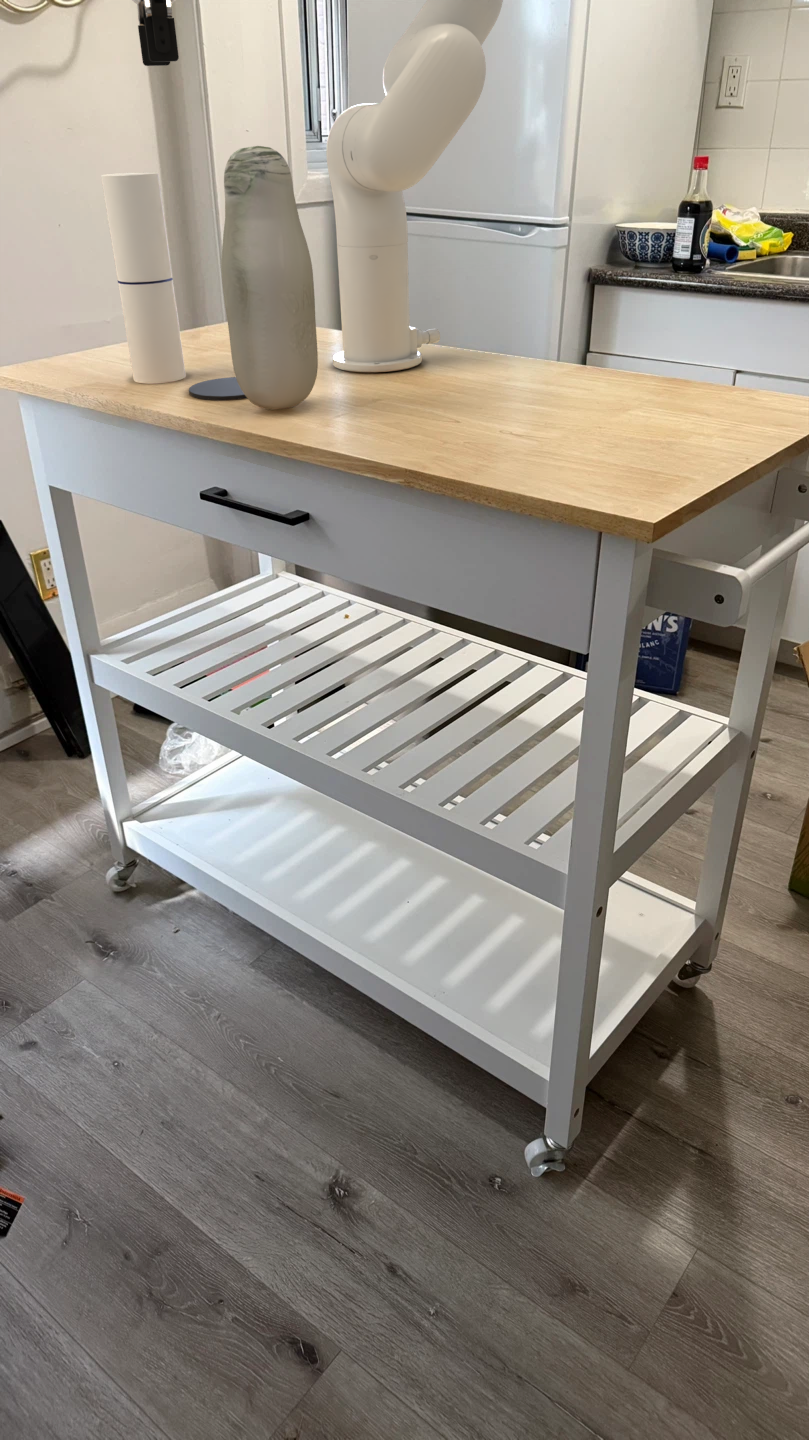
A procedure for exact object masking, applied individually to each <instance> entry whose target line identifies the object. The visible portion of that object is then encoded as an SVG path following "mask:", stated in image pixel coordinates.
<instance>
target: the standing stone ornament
mask: <svg viewBox="0 0 809 1440" xmlns="http://www.w3.org/2000/svg"><path fill="white" fill-rule="evenodd" d="M223 188H224V191H223V192H224V223H223V235H222V246H221V261H220V262H221V263H220V264H221V265H220V266H221V267H220V268H221V284H222V291H223V292H222V293H223V299H224V308H225V313H226V321H227V327H228V336H229V344H230V345H229V346H230V354H231V361H232V368H233V373H234V377H236V379H237V382H238V384H239V386H240V388H241V390H242V391H243V393H244V394H245V396H246V397H247V398H246V399H247V400H248V401H249V402H251V403H252V404H253V405H255V406H257V407H258V408H261V409H265V410H269V411H270V410H287V409H291V408H293V407H296V406H298V405H300V404H301V403H302V402H304V401H305V400H306V399H307V398H308V397H309V395H310V394H311V393H312V391H313V388H314V386H315V383H316V380H317V375H318V369H319V367H318V366H319V352H318V338H317V337H318V336H317V322H316V321H317V319H316V298H315V284H314V281H315V280H314V271H313V270H314V269H313V263H312V257H311V254H310V250H309V246H308V242H307V239H306V235H305V233H304V230H303V226H302V223H301V220H300V219H301V218H300V216H299V210H298V207H297V202H296V196H295V191H294V183H293V176H292V171H291V169H290V165H289V164H288V163H287V161H286V159H285V157H284V156H283V155H282V154H281V153H280V152H279V151H277V150H276V149H274V148H272V147H269V146H261V145H254V146H248V147H242V148H239V149H237V150H235V151H233V153H232V154H231V155H230V156H229V158H228V159H227V162H226V165H225V168H224V173H223Z"/></svg>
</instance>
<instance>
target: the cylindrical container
mask: <svg viewBox="0 0 809 1440" xmlns="http://www.w3.org/2000/svg"><path fill="white" fill-rule="evenodd" d="M100 180H101V185H102V191H103V198H104V204H105V210H106V217H107V222H108V223H107V224H108V229H109V234H110V241H111V248H112V254H113V259H114V267H115V273H116V279H117V286H118V290H119V297H120V304H121V309H122V317H123V322H124V330H125V335H126V342H127V347H128V355H129V360H130V366H131V372H132V378H133V381H134V382H135V383H139V384H147V385H148V384H152V385H155V384H167V383H174V382H178V381H180V380H183V379H185V378H186V377H187V374H186V369H185V367H186V366H185V360H184V351H183V345H182V337H181V336H182V335H181V329H180V321H179V314H178V308H177V307H178V306H177V299H176V293H175V286H174V279H173V270H172V263H171V256H170V249H169V241H168V234H167V226H166V225H167V224H166V219H165V211H164V204H163V197H162V196H163V195H162V189H161V182H160V173H159V172H157V171H155V172H153V171H152V172H151V171H145V172H144V171H143V172H119V173H108V174H107V173H105V174H101V175H100Z"/></svg>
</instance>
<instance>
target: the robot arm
mask: <svg viewBox="0 0 809 1440" xmlns="http://www.w3.org/2000/svg"><path fill="white" fill-rule="evenodd" d="M131 1H132V2H133V3H135V4H136V9H137V17H138V18H137V20H138V25H137V29H138V37H139V45H140V53H141V60H142V64H143V65H144V66H145V67H159V66H164V67H165V66H169V65H170V64H171V62H177V61H179V59H180V58H179V49H178V40H177V31H176V23H175V17H173V9H172V4H174V3H175V2H176V0H131ZM503 1H504V0H426V1H425V2H424V4H423V5H422V7H421V8H420V10H419V11H418V12H417V14H416V15H415V17H414V18H413V19H412V21H411V23H410V24H409V25H408V27H407V28H406V29H405V31H404V33H402V35H401V36H400V37H399V39H398V40H397V41H396V43H395V44H394V46H393V47H392V48H391V50H390V51H389V53H388V56H387V58H386V59H385V63H384V65H383V70H382V86H383V90H384V93H385V96H384V98H382V100H381V101H380V103H378V102H376V103H375V102H374V103H359V104H356V105H353V106H350V107H349V108H347V109H345V110H344V111H343V112H341V113H340V114H339V115H338V116H337V118H336V119H335V120H334V122H332V123H333V124H332V125H331V127H330V130H329V132H328V136H327V140H326V147H325V148H326V149H325V150H326V153H325V154H326V155H325V156H326V163H327V164H326V167H327V171H328V172H327V173H328V178H329V182H330V188H331V194H332V199H333V208H334V217H335V231H336V234H335V235H336V252H337V253H336V254H337V269H338V270H337V271H338V287H339V303H340V317H341V318H340V319H341V336H342V338H341V339H342V351H339V352H337V353H335V354H334V355H333V356H332V365H333V366H334V367H335V368H336V369H338V370H342V371H347V372H354V373H386V372H397V371H401V370H408V369H411V368H414V367H417V366H419V365H420V364H421V363H422V361H423V360H422V359H423V358H422V357H423V355H422V353H421V351H419V350H418V349H419V348H421V347H422V346H423V345H431V344H438V343H439V342H440V340H441V334H440V331H439V329H438V328H429V329H424V330H422V329H420V328H419V329H418V328H417V327H414V326H411V319H410V315H411V314H410V286H409V285H410V283H409V282H410V281H409V280H410V279H409V249H408V248H409V247H408V242H409V235H408V234H409V233H408V217H407V216H408V215H407V208H406V203H405V198H404V193H403V191H406V190H409V189H411V188H412V187H414V186H415V185H417V184H418V183H419V182H420V181H422V179H423V178H424V177H425V176H426V175H427V174H428V173H429V171H430V170H431V169H432V168H433V166H434V165H435V164H436V162H437V161H438V160H439V159H440V157H441V156H442V154H443V153H444V151H445V150H446V149H447V148H448V146H449V144H450V143H451V141H452V140H453V139H454V137H455V136H456V134H458V132H459V130H460V129H461V128H462V126H463V125H464V124H465V122H466V120H467V119H468V118H469V116H470V115H471V113H472V112H473V111H474V109H475V107H476V106H477V103H478V101H479V99H480V98H481V95H482V92H483V89H484V86H485V81H486V74H487V63H486V56H485V52H484V50H483V47H482V46H483V44H484V42H485V41H486V39H487V38H488V37H489V35H490V33H491V32H492V30H493V28H494V27H495V24H496V22H497V21H498V18H499V16H500V14H501V10H502V7H503V3H504V2H503Z"/></svg>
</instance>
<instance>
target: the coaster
mask: <svg viewBox="0 0 809 1440" xmlns="http://www.w3.org/2000/svg"><path fill="white" fill-rule="evenodd" d="M188 394H189V395H190V396H191V397H193V398H195V399H200V400H206V401H234V400H245V399H248V398H247V397H246V396H245V394H244V393H243V391H242V390H241V388H240V386H239V384H238V382H237V379H236V376H230V377H220V378H213V379H207V380H204V381H200V382H197V383H195V384H192V385H191V386H189V388H188Z"/></svg>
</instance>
